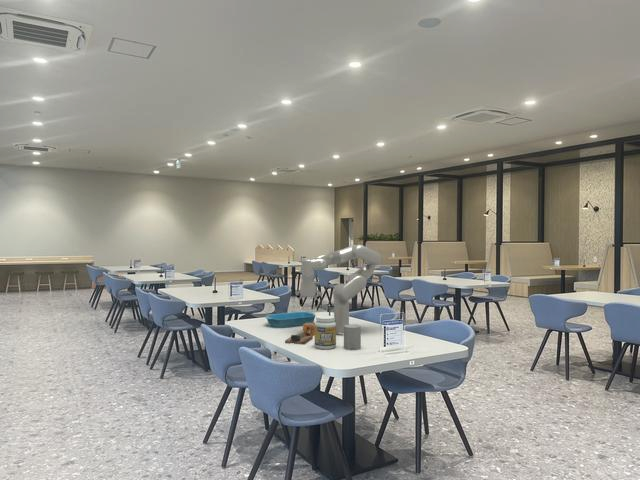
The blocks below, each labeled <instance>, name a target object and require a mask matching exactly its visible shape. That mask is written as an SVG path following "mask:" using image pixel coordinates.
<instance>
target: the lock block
mask: <svg viewBox="0 0 640 480" xmlns="http://www.w3.org/2000/svg"><path fill="white" fill-rule="evenodd" d="M302 331H304V336H313V337H315V322H313V323H305V324H303V326H302Z"/></svg>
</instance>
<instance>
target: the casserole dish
mask: <svg viewBox="0 0 640 480" xmlns="http://www.w3.org/2000/svg"><path fill="white" fill-rule="evenodd" d="M265 319H266V320H267V323H268V325H270V326H271V327H274V328H277V329H278V328H279V329H284V328H292V327H293V328H294V327H303V324H305V323H315V320H316V313H315V312H309V311H293V312H281V313H273V314H271V313H270V314H267V315H266V316H265Z"/></svg>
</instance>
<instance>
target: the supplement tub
mask: <svg viewBox="0 0 640 480" xmlns="http://www.w3.org/2000/svg"><path fill="white" fill-rule="evenodd" d="M334 320H335V317H334V315H333V316H332V315H317V316H315V321H314V323H315V335H314V344H313V345H314V347H315V348H316V349H320V350H331V349H335V348H336V346H337V334H336V323H335V322H334Z"/></svg>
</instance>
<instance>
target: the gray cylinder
mask: <svg viewBox="0 0 640 480" xmlns="http://www.w3.org/2000/svg"><path fill="white" fill-rule="evenodd" d="M361 327H362V326H361V325H360V324H354V323H353V324H352V323H349V325H344V335H343V349H345V350H347V351H358V350H361V348H362V342H361V341H362V332H361V331H362V330H361V329H362V328H361Z"/></svg>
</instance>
